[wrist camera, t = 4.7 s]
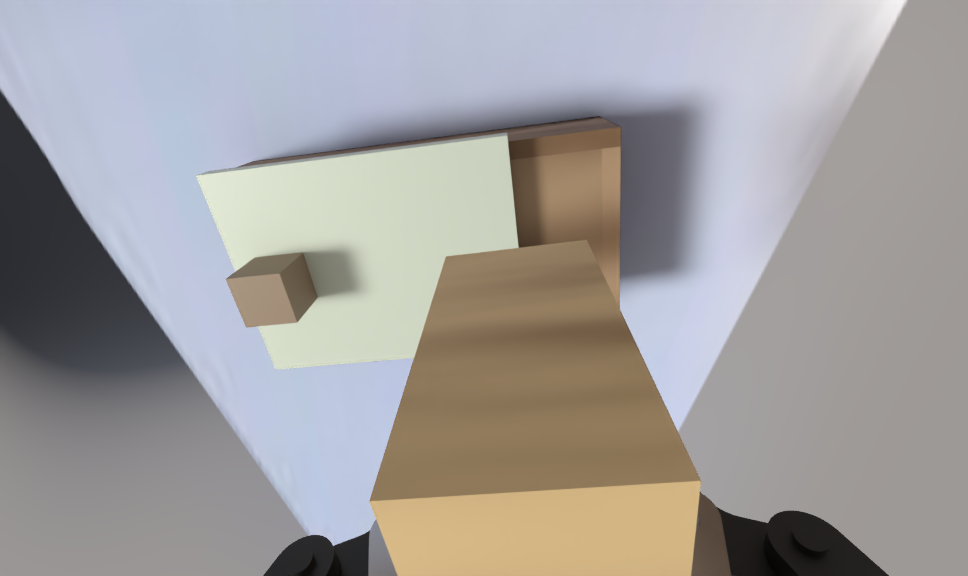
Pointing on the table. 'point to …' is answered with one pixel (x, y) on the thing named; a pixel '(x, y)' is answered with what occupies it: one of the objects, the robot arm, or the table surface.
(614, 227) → the wooden box
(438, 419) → the key
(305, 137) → the table surface
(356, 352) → the lid
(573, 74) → the table surface
